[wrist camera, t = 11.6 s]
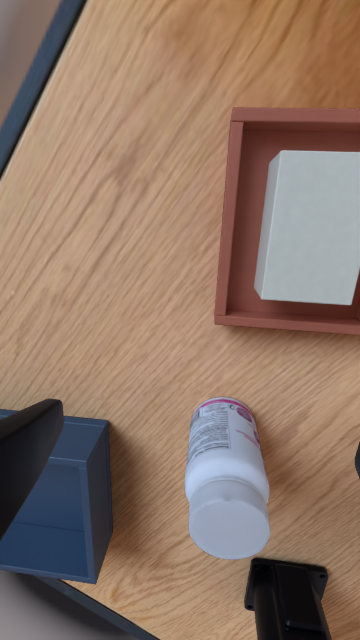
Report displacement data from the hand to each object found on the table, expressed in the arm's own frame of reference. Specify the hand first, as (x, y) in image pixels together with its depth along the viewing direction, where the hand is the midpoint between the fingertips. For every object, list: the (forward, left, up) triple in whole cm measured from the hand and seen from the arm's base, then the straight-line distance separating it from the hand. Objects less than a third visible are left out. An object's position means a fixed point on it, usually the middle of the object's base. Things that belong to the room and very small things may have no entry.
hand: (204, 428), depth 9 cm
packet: (+6, -5, -11) cm, 13 cm away
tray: (+6, -5, -12) cm, 14 cm away
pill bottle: (-8, -2, -12) cm, 15 cm away
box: (-15, +14, -12) cm, 24 cm away
